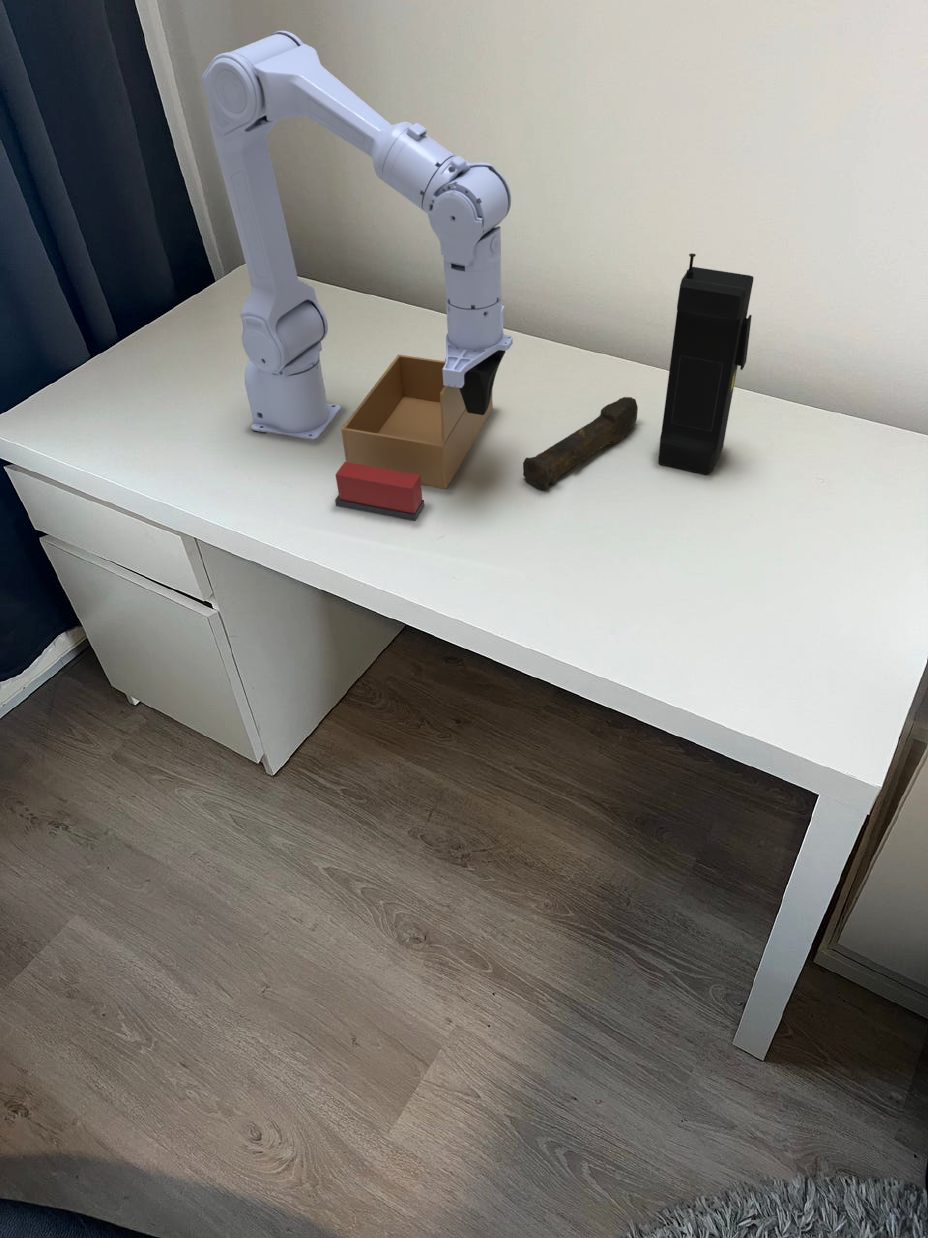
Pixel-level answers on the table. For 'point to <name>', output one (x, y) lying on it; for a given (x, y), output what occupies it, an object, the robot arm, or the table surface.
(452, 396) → the flap
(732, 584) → the table surface
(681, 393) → the portable radio
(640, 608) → the table surface
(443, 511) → the table surface
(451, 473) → the carton
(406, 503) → the stapler
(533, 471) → the brown rough bar
